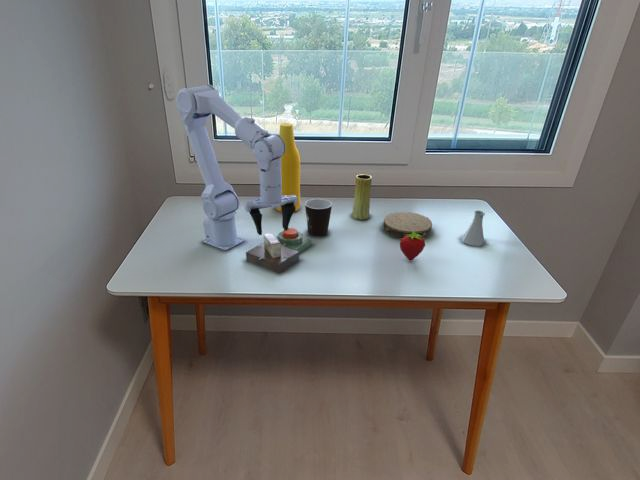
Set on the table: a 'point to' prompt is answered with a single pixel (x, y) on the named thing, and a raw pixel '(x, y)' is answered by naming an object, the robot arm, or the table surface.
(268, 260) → the switch base
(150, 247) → the table surface
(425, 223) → the cork coaster disc
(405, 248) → the strawberry
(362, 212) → the vase
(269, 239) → the cream rectangular block
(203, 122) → the robot arm
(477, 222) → the flask
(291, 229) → the button
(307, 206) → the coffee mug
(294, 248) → the button box
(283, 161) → the beer bottle
